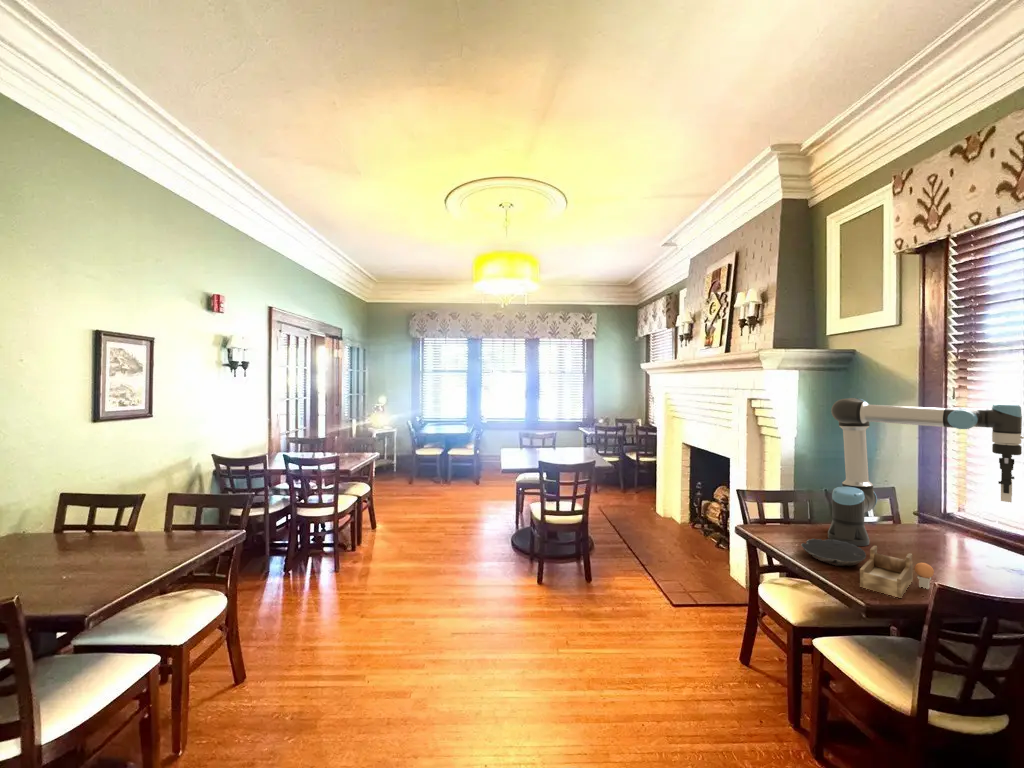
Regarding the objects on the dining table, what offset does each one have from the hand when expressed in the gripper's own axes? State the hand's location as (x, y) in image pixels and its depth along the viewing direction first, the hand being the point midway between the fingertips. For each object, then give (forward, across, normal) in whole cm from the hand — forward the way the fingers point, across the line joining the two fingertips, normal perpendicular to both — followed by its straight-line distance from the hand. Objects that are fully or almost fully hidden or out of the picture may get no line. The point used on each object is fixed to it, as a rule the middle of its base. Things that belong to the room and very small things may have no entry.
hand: (1006, 498), depth 170 cm
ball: (+21, -46, +19) cm, 54 cm away
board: (+28, -40, +46) cm, 68 cm away
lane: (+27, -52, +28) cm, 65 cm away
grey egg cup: (+27, -46, +19) cm, 56 cm away
